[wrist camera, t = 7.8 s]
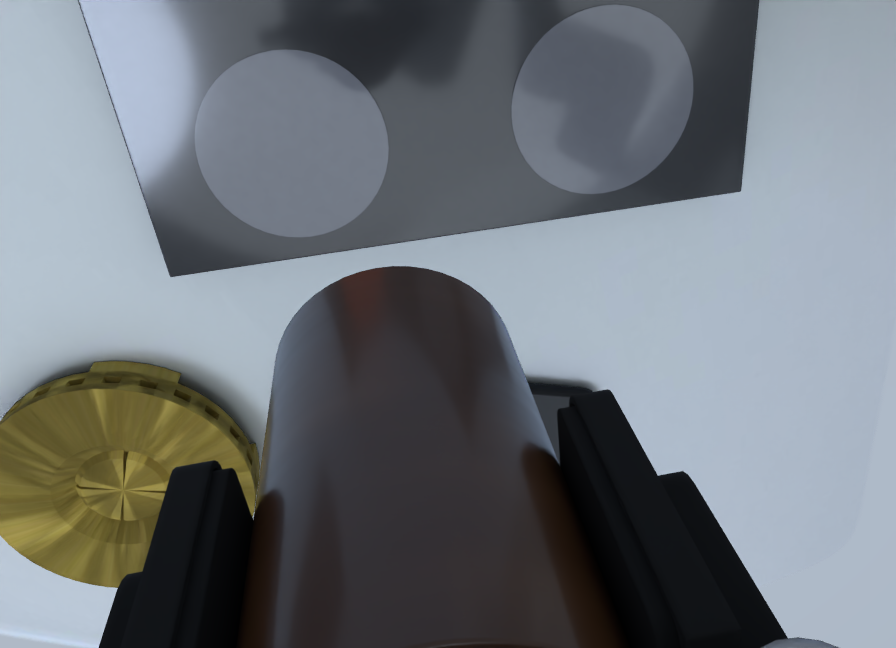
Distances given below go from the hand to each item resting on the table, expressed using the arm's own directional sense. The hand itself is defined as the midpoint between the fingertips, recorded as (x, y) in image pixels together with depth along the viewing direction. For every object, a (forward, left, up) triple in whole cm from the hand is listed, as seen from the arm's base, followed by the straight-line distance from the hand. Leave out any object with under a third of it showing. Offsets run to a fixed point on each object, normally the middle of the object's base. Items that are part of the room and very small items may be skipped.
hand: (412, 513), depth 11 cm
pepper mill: (0, 0, -4) cm, 4 cm away
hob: (-3, -4, -22) cm, 22 cm away
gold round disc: (+14, +15, -22) cm, 30 cm away
